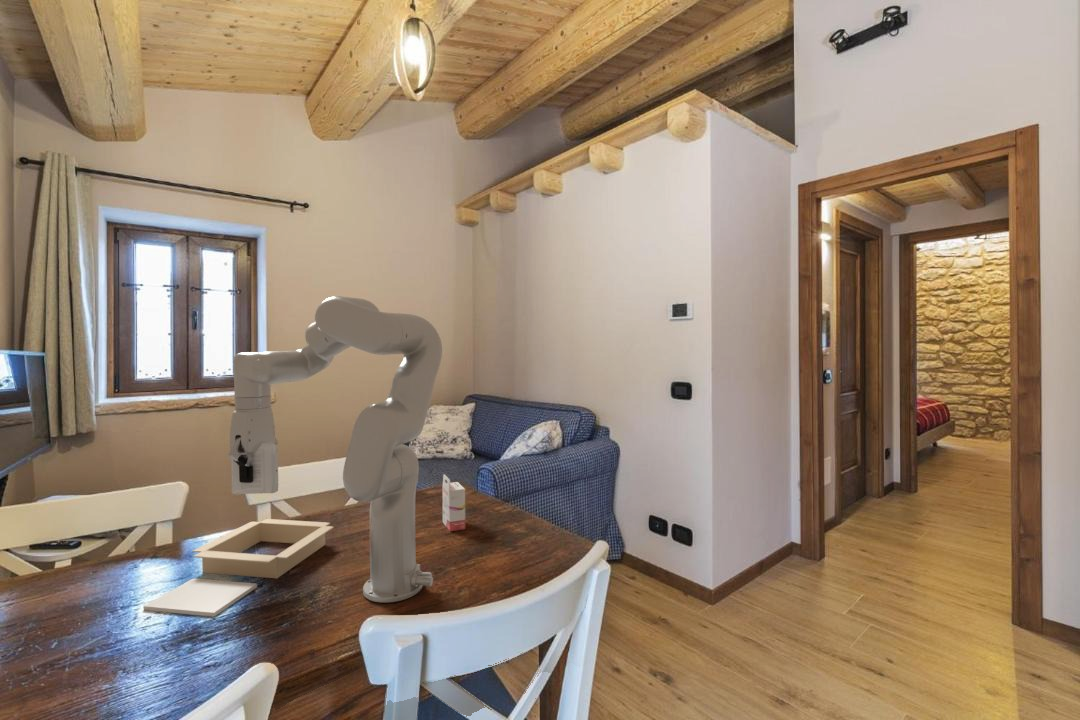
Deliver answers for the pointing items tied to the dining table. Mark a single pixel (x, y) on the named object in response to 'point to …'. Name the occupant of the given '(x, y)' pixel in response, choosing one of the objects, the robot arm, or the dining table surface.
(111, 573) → the dining table surface
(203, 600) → the mat
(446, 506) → the ink cartridge box
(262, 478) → the photo printer
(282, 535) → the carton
